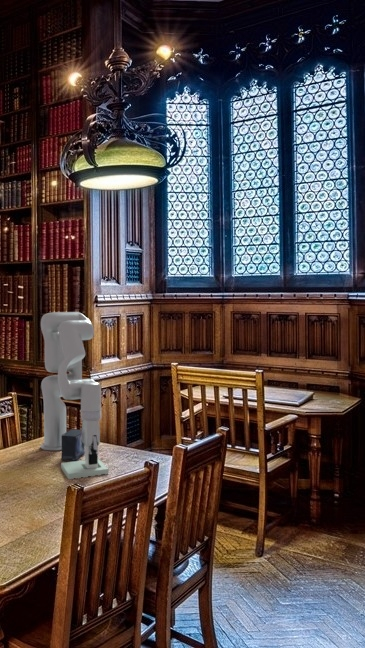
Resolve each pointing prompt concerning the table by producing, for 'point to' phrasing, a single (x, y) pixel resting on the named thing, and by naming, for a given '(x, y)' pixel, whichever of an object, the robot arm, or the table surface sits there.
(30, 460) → the table surface
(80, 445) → the small box
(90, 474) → the plate
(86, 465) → the block
